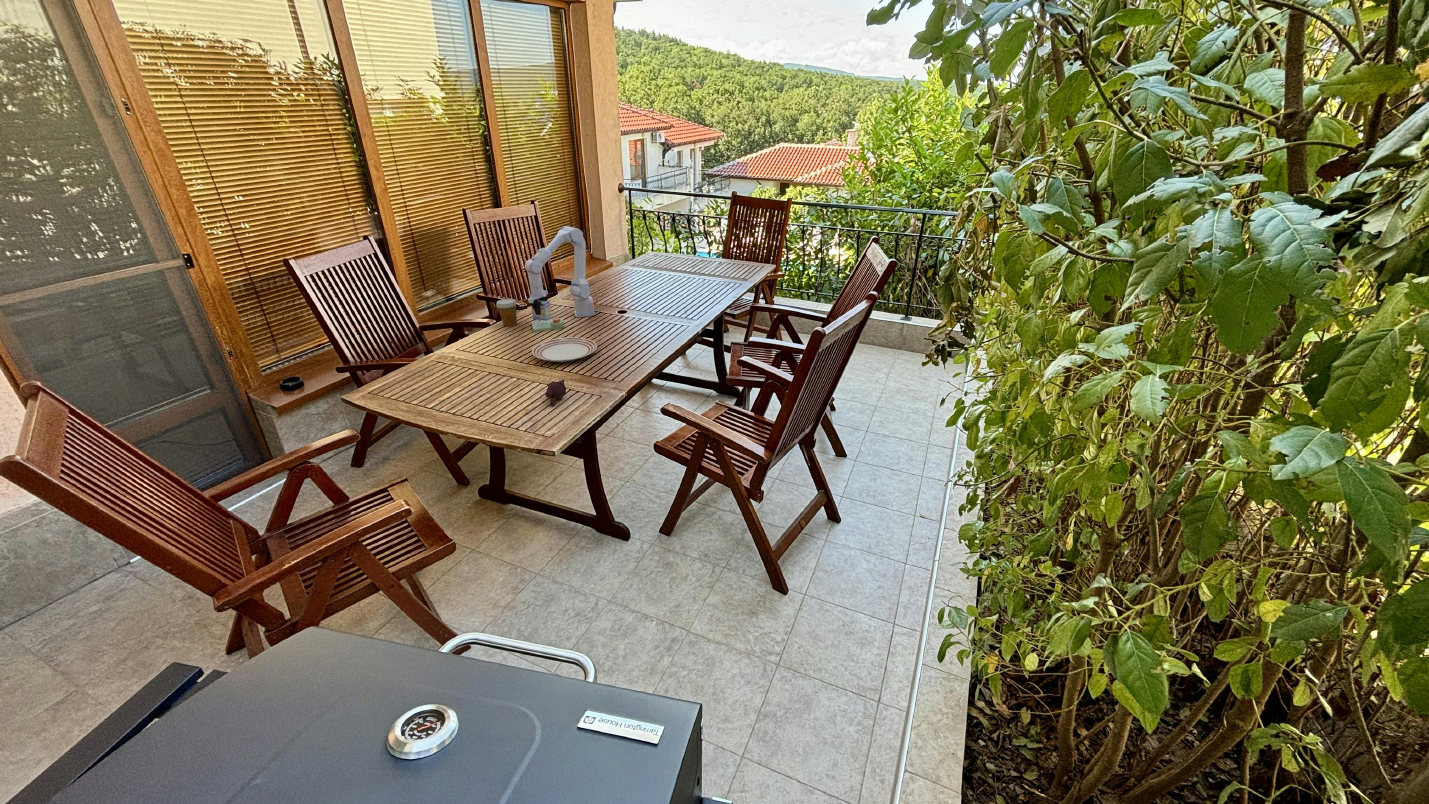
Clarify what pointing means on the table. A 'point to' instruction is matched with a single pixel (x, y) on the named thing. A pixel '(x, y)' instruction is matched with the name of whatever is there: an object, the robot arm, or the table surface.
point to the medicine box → (543, 311)
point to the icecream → (555, 391)
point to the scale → (546, 325)
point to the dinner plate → (564, 349)
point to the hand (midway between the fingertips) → (540, 313)
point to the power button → (556, 320)
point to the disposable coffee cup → (507, 312)
